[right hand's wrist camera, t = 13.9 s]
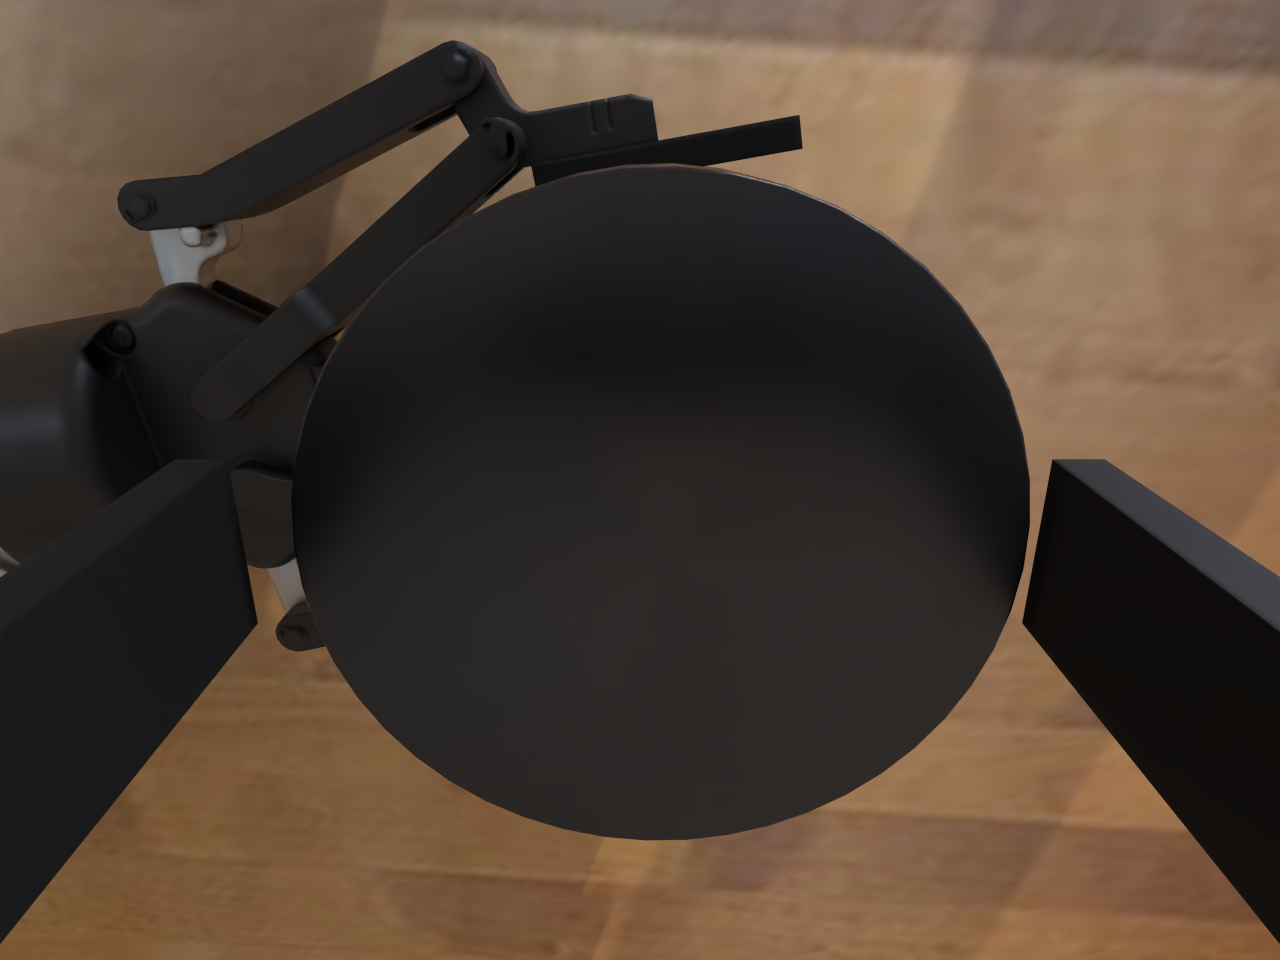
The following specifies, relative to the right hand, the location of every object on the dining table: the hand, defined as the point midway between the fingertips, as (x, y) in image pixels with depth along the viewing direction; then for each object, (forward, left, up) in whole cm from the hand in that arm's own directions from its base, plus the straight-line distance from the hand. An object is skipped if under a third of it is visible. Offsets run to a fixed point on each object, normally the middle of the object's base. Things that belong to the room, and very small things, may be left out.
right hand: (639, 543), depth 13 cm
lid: (0, 0, 0) cm, 0 cm away
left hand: (-2, +4, -12) cm, 13 cm away
